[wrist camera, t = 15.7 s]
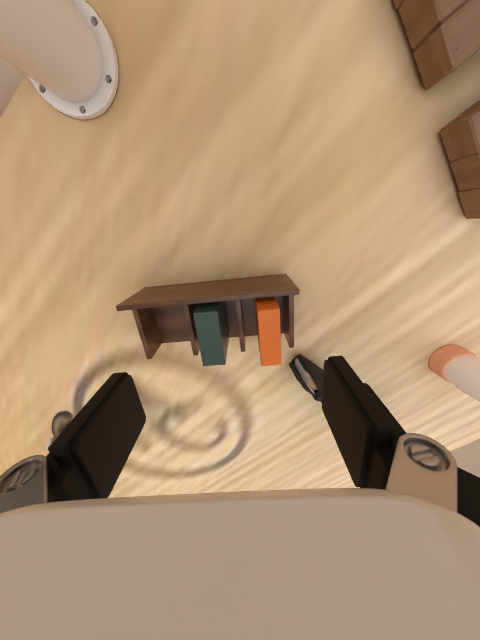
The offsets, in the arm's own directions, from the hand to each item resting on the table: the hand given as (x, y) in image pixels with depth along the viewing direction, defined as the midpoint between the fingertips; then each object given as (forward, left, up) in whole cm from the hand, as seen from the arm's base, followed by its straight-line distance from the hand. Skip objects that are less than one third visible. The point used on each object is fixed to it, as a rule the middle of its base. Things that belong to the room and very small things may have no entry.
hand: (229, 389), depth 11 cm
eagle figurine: (+36, -48, -34) cm, 69 cm away
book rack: (+8, -5, -33) cm, 35 cm away
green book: (+8, -5, -32) cm, 34 cm away
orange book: (+8, +4, -32) cm, 34 cm away
